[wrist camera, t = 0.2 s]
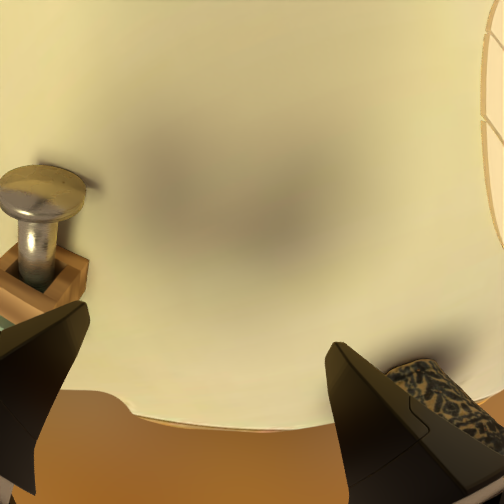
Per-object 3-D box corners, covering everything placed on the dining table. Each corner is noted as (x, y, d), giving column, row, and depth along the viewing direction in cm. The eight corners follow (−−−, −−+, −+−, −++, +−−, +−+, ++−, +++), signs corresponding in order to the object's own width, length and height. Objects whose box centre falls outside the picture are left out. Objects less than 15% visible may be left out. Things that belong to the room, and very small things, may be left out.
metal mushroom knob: (36, 158, 20) (-20, 186, 13) (101, 184, 21) (51, 223, 15) (28, 253, 24) (-11, 295, 18) (84, 281, 26) (50, 332, 19)
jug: (393, 419, 41) (426, 563, 15) (306, 407, 37) (324, 603, 11) (482, 341, 32) (555, 502, 6) (412, 305, 28) (513, 567, 2)
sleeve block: (30, 231, 23) (-18, 275, 16) (89, 260, 25) (48, 315, 18) (29, 262, 25) (-11, 307, 18) (85, 290, 27) (50, 344, 20)
